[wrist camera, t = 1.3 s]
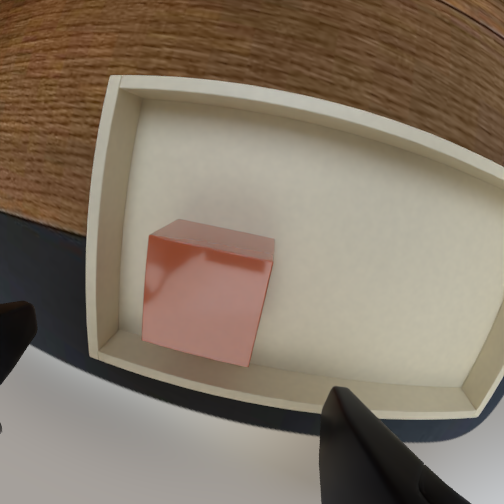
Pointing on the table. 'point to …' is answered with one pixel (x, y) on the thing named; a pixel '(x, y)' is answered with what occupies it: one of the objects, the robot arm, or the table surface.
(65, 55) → the table surface
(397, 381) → the beige tray
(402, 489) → the robot arm
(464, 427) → the table surface
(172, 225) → the clay block
